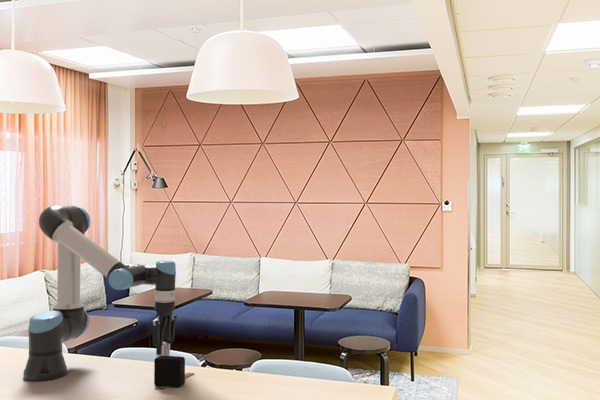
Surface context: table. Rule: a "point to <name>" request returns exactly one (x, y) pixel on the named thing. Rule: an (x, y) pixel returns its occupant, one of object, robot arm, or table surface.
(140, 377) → the table surface
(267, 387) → the table surface
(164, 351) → the marker peg
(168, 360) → the electronic device
